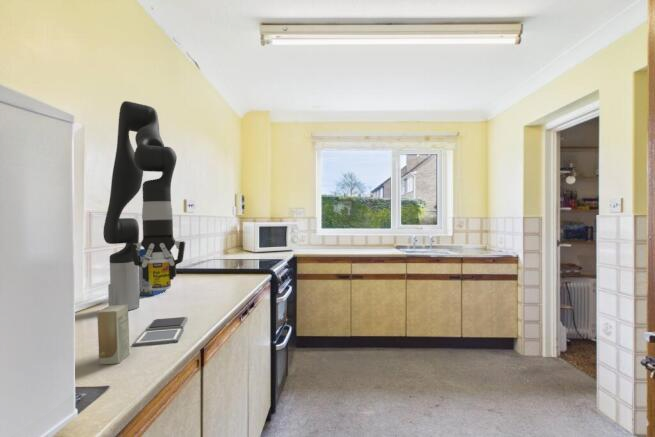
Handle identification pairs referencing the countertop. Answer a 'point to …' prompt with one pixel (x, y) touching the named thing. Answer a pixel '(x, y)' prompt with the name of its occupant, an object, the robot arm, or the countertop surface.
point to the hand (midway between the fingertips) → (159, 279)
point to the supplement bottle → (159, 272)
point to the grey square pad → (158, 337)
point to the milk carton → (144, 284)
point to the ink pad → (167, 324)
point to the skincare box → (113, 334)
